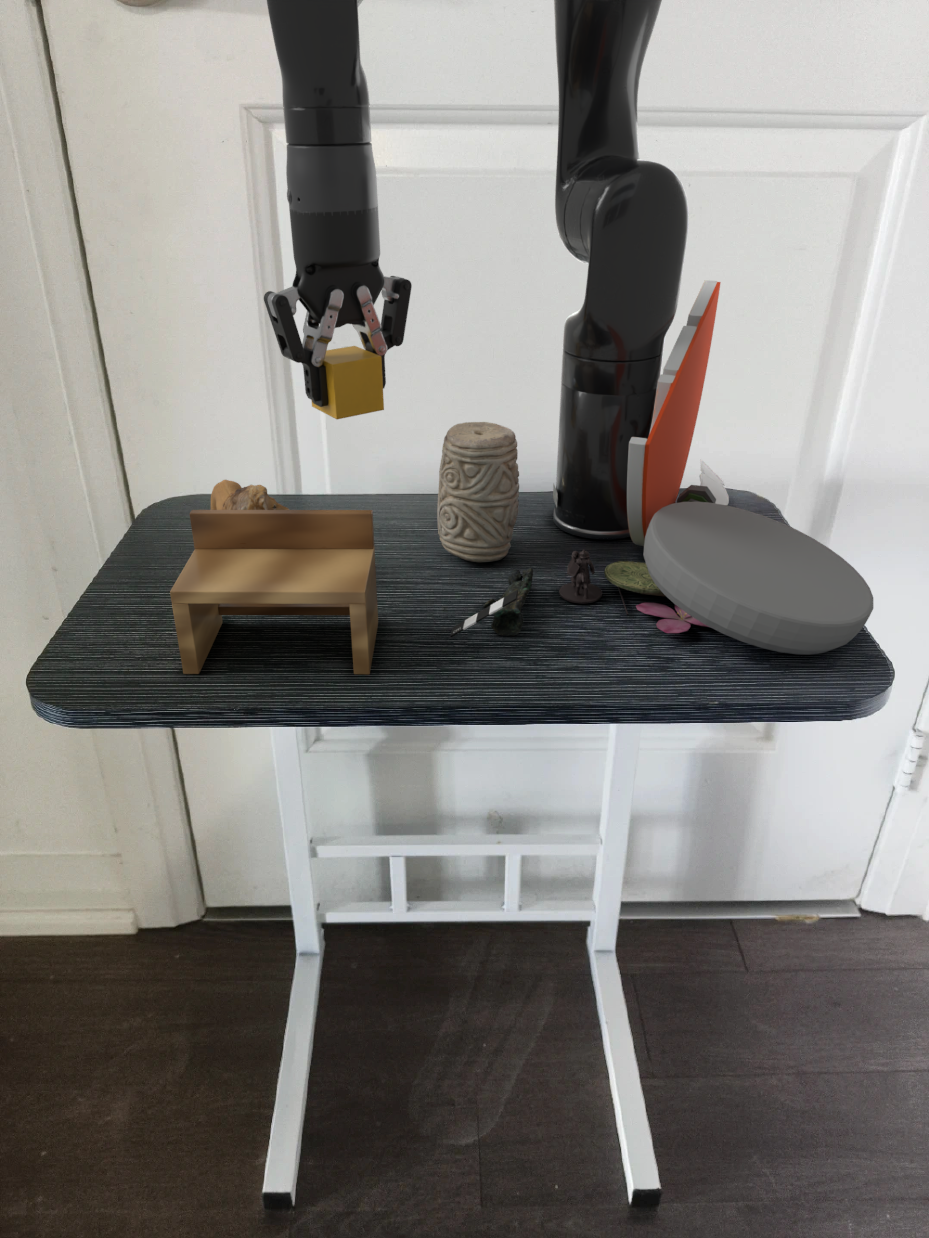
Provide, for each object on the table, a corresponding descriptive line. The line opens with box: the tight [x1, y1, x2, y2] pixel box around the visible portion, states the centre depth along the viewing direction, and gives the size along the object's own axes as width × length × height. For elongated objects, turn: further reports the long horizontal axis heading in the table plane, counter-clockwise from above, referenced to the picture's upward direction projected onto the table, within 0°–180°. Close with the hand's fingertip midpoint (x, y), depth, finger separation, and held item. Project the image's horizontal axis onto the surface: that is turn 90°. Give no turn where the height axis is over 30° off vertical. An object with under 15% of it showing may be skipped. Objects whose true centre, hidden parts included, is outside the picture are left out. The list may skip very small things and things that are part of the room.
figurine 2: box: [558, 548, 629, 616], centre depth 83 cm, size 5×8×4 cm
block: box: [311, 345, 385, 420], centre depth 90 cm, size 5×5×5 cm
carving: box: [436, 421, 520, 563], centre depth 88 cm, size 6×8×12 cm
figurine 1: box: [449, 567, 534, 638], centre depth 79 cm, size 6×4×12 cm
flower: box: [635, 602, 710, 634], centre depth 79 cm, size 8×8×1 cm
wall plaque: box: [627, 279, 721, 547], centre depth 91 cm, size 19×2×30 cm
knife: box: [676, 459, 730, 506], centre depth 98 cm, size 22×4×5 cm
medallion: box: [603, 560, 666, 597], centre depth 84 cm, size 8×8×1 cm
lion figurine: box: [210, 479, 290, 510], centre depth 88 cm, size 15×5×9 cm, turn 34°
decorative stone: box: [643, 502, 874, 655], centre depth 78 cm, size 18×18×5 cm
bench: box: [169, 509, 379, 675], centre depth 73 cm, size 14×8×10 cm, turn 90°
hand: (347, 398), depth 90 cm, fingers closed on block, 5 cm apart
